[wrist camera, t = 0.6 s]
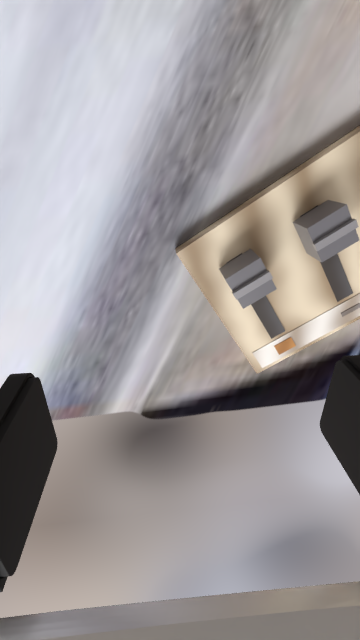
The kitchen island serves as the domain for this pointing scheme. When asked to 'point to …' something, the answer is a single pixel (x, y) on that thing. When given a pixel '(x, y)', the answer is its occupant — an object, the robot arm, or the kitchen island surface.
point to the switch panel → (285, 259)
